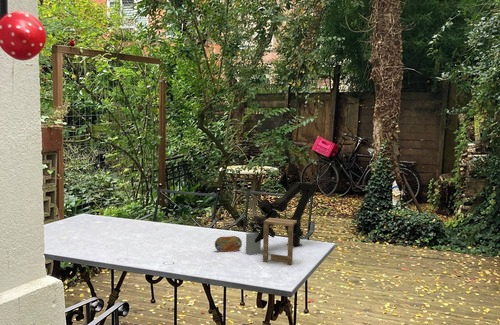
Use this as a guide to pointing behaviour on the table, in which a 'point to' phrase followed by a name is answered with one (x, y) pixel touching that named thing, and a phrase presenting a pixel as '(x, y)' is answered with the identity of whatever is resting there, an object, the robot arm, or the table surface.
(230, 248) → the tin
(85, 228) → the table surface
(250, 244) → the slab
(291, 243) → the wooden frame
